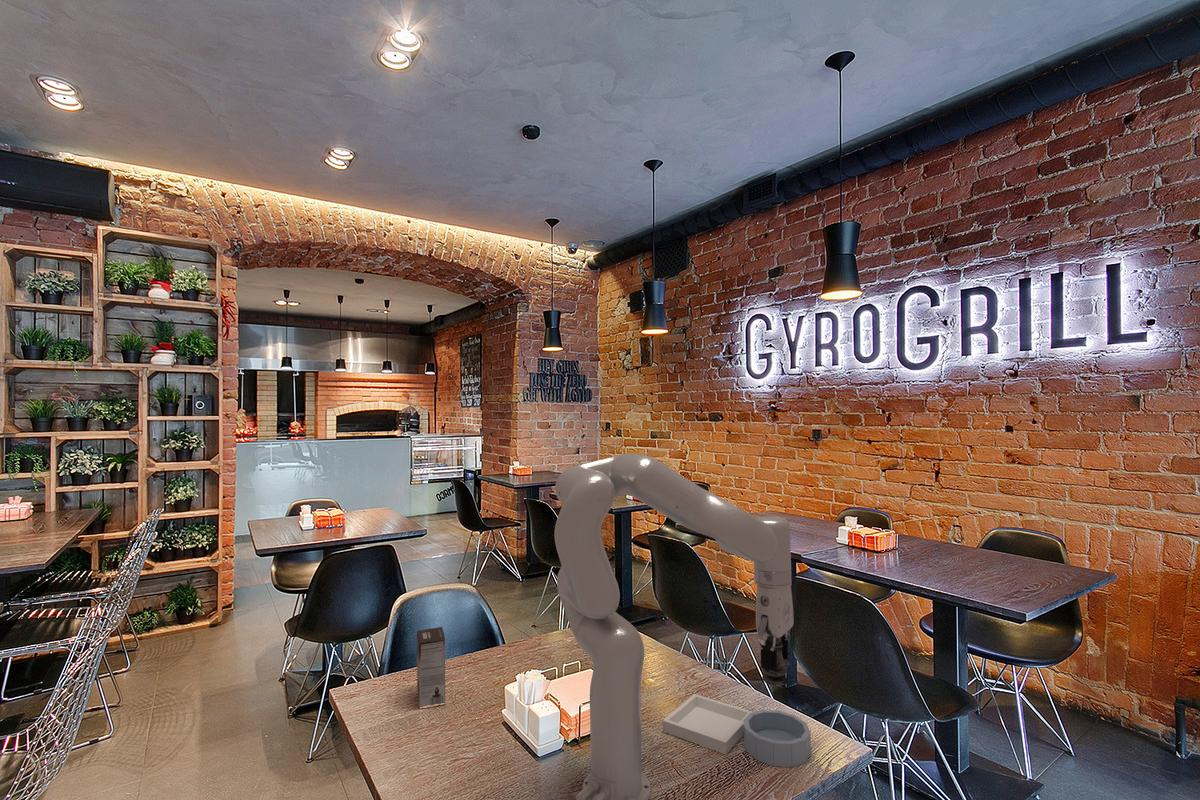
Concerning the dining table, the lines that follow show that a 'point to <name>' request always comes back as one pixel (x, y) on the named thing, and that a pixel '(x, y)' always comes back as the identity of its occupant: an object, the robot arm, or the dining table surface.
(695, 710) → the parts tray
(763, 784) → the dining table surface
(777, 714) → the bowl
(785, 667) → the dark brown turned figure
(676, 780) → the dining table surface
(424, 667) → the coffee box
